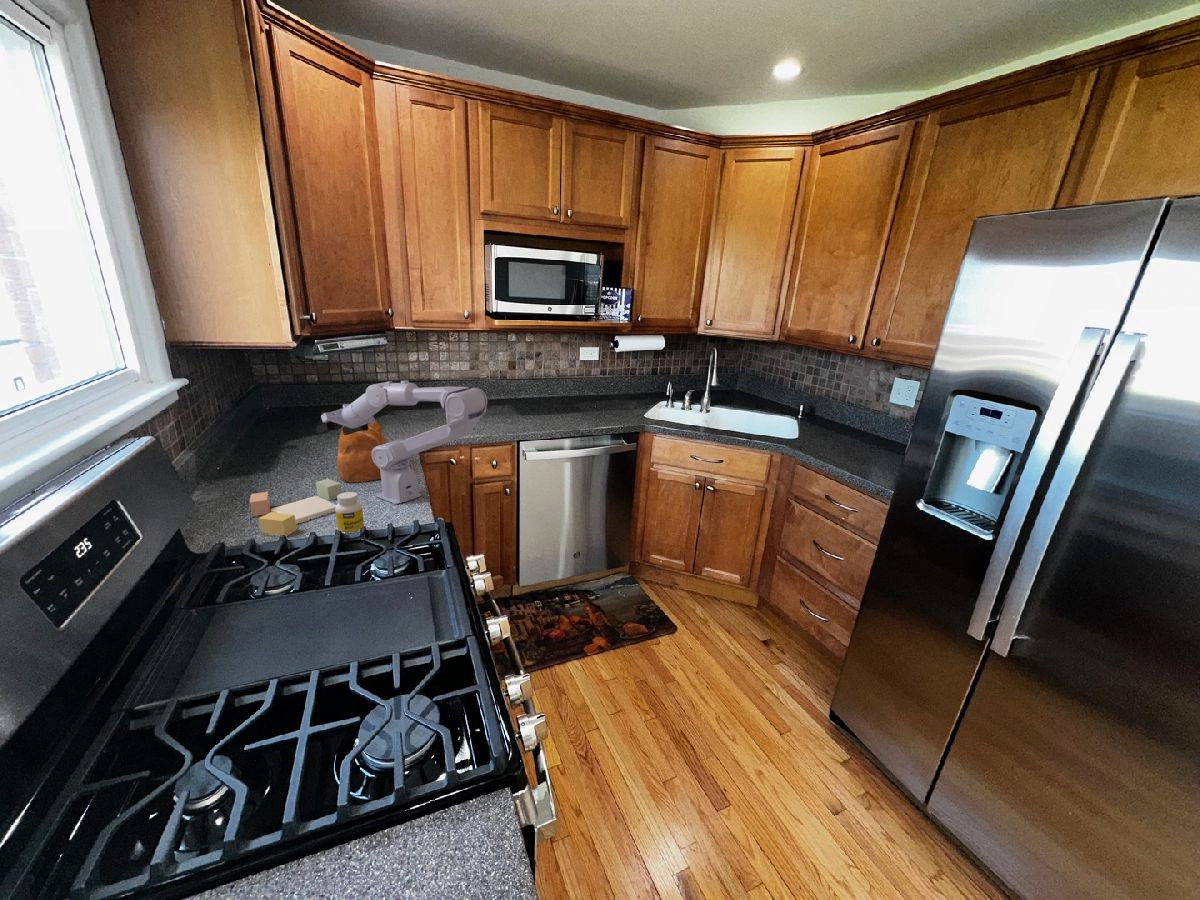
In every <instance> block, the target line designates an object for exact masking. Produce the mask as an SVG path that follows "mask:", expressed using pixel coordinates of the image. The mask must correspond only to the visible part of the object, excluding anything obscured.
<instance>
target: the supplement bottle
mask: <svg viewBox="0 0 1200 900" xmlns="http://www.w3.org/2000/svg"><path fill="white" fill-rule="evenodd" d="M358 499H359V498H358V493H357V492H354V491H345V492H342V493H341V494H339V495H338V496H337V500H336V501H337V504H336V507H335V512H334V513H335V519H336V526H337V527H336V528H337V531H338V530H339V531H342V532H345V533H349V532H357V531H359V529H360V528H362V527H364V528H365V522H364V515H363V514H364V513H363V506H362V502H360V501H358Z"/></svg>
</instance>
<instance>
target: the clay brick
mask: <svg viewBox="0 0 1200 900" xmlns="http://www.w3.org/2000/svg"><path fill="white" fill-rule="evenodd" d="M249 497H250V498H249V506H250V512H251V517H252V516H256V515H262V516H264V514H268V513H270V512H271V510H270V509H271V503H270V496H269V491H263V492H256V493H251V494H250V496H249ZM256 517H257V516H256Z"/></svg>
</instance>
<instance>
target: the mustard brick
mask: <svg viewBox="0 0 1200 900" xmlns="http://www.w3.org/2000/svg"><path fill="white" fill-rule="evenodd" d="M258 525H259V529H260V533H261V532H263V533H269V534H277V535H287V536H288V534H289V533H290V532H293V531H294V532H296V531H297V530H298V528H297V524H296V521H295V515H293V514H284V513H274V512H271V511H270V513H268V514H266V515H262V516H259V517H258ZM295 530H296V531H295ZM294 532H293V533H294ZM289 535H290V534H289Z"/></svg>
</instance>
